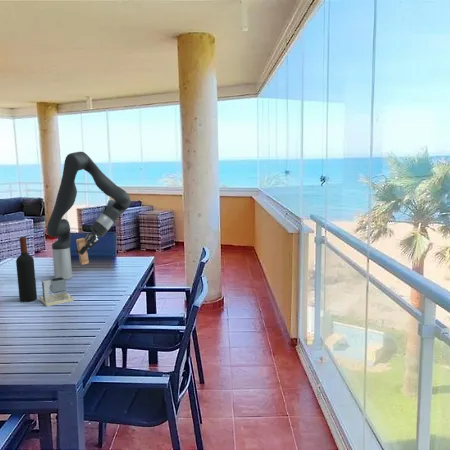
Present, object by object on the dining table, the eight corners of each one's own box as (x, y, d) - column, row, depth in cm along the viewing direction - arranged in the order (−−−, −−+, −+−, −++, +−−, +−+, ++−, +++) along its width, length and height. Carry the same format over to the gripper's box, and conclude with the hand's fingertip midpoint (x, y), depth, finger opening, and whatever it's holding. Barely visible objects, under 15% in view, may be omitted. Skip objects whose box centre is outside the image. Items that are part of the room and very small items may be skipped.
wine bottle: (18, 303, 198) (12, 239, 194) (21, 298, 206) (15, 236, 202) (35, 301, 200) (30, 237, 196) (38, 296, 208) (32, 235, 203)
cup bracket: (39, 300, 202) (37, 279, 201) (65, 294, 209) (64, 274, 208) (46, 306, 193) (44, 284, 191) (73, 300, 200) (71, 279, 198)
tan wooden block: (80, 263, 208) (76, 239, 205) (86, 261, 210) (82, 238, 207) (82, 264, 205) (78, 240, 203) (88, 263, 207) (85, 239, 205)
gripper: (91, 219, 214) (68, 246, 209) (101, 221, 203) (77, 250, 198) (102, 228, 218) (79, 255, 213) (113, 231, 207) (90, 260, 202)
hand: (79, 253), depth 205 cm, fingers closed on tan wooden block, 3 cm apart
